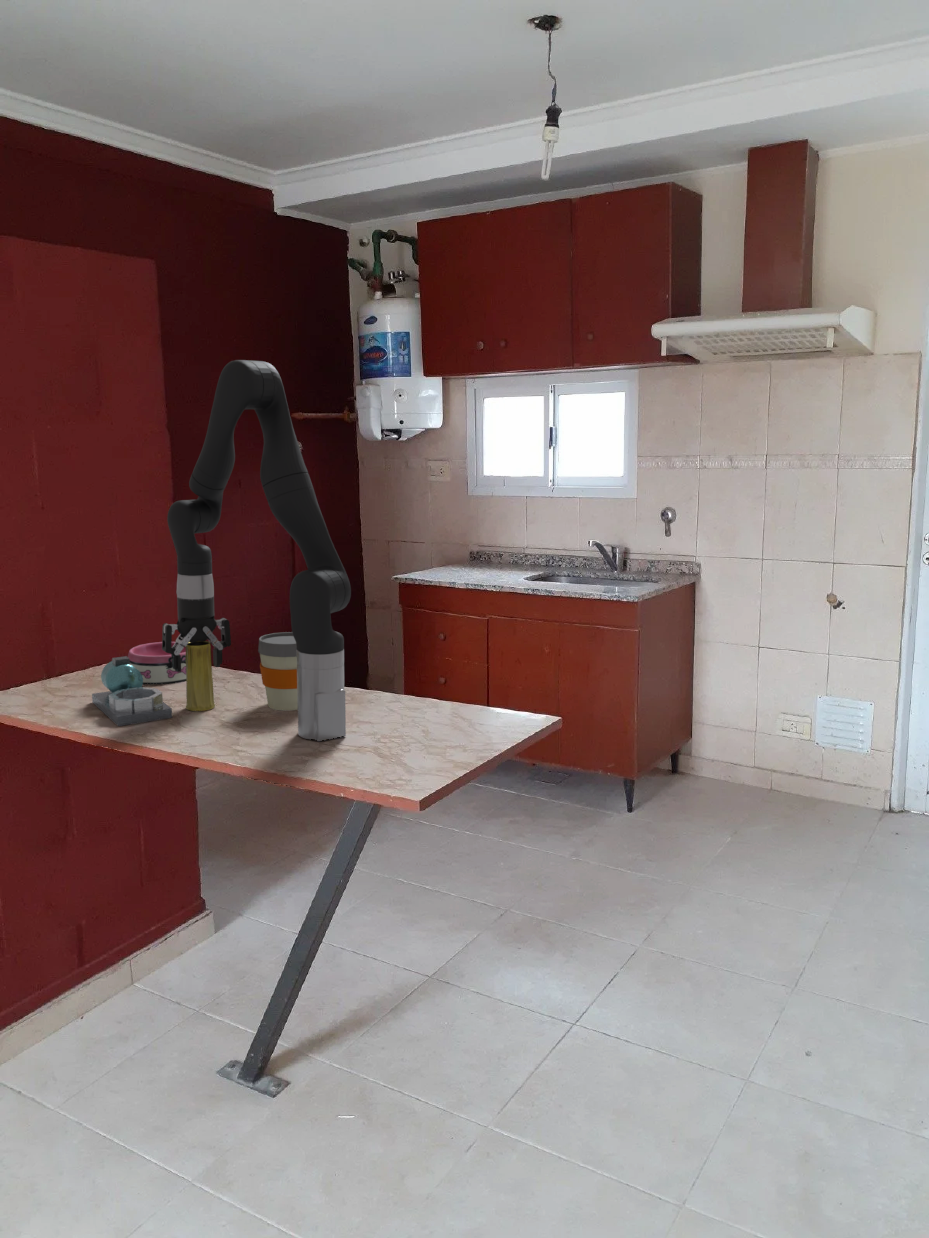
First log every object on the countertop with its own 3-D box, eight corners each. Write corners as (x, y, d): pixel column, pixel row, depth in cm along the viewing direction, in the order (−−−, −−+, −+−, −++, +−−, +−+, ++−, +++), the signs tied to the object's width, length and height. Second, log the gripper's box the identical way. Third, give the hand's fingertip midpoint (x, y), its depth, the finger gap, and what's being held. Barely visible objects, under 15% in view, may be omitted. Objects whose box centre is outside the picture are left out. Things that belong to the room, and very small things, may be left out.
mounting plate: (172, 717, 200) (169, 670, 198) (118, 726, 194) (115, 677, 192) (143, 695, 216) (140, 651, 214) (92, 702, 210) (89, 657, 208)
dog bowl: (144, 689, 222) (142, 661, 220) (110, 674, 235) (109, 646, 234) (216, 676, 234) (215, 649, 233) (180, 662, 247) (179, 636, 246)
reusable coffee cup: (323, 698, 216) (322, 632, 213) (309, 714, 204) (308, 645, 201) (269, 695, 217) (267, 631, 214) (251, 711, 205) (249, 643, 202)
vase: (221, 705, 209) (218, 641, 206) (202, 713, 204) (199, 647, 201) (198, 702, 212) (196, 638, 209) (179, 709, 206) (176, 644, 203)
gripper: (167, 600, 196) (170, 677, 199) (234, 594, 204) (236, 668, 207) (156, 594, 202) (158, 669, 205) (221, 589, 210) (223, 661, 213)
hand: (197, 668), depth 206 cm, fingers open, 8 cm apart
